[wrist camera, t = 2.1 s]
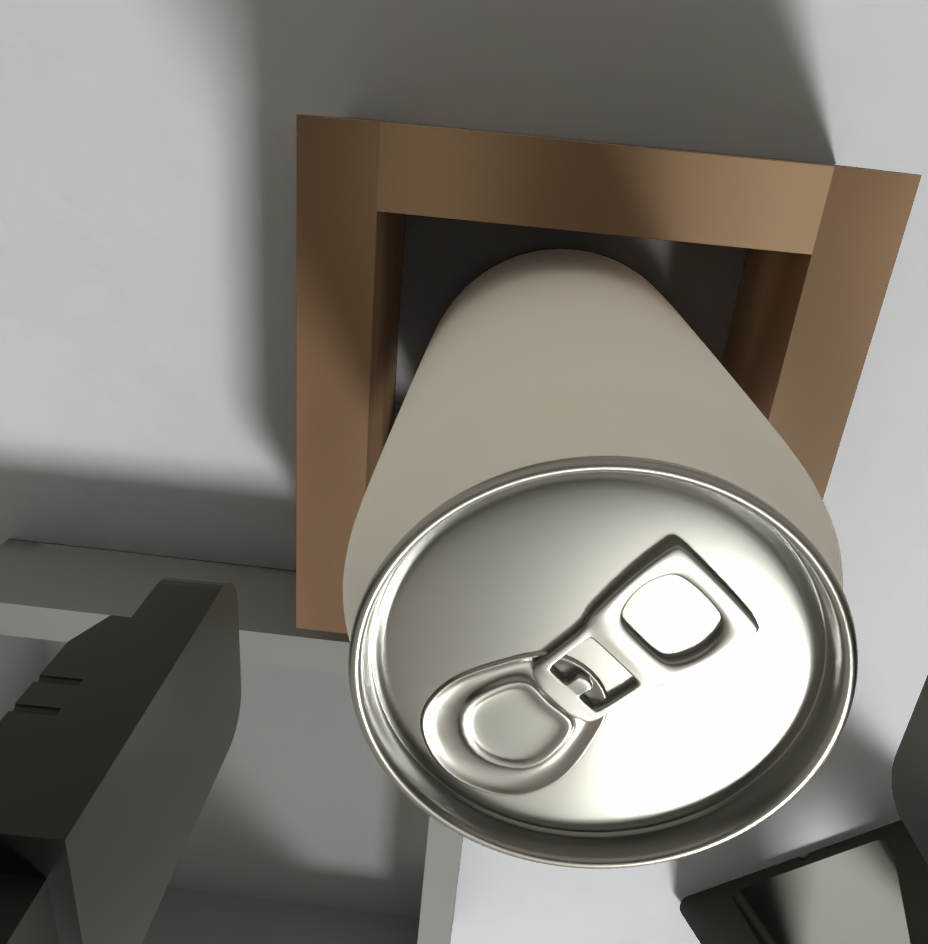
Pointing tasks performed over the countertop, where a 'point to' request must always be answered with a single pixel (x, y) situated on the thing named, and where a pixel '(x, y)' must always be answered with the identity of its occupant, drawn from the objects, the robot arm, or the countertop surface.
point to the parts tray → (257, 766)
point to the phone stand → (823, 897)
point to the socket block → (576, 209)
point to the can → (592, 581)
